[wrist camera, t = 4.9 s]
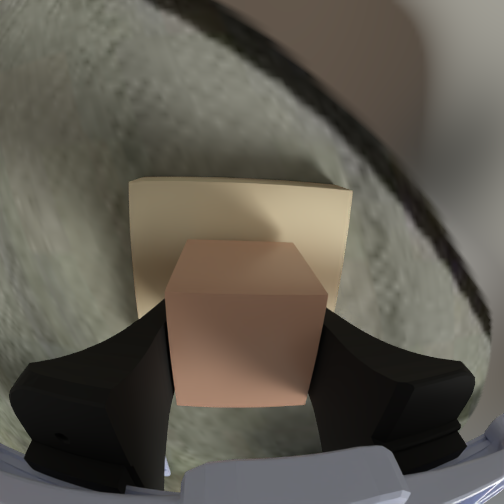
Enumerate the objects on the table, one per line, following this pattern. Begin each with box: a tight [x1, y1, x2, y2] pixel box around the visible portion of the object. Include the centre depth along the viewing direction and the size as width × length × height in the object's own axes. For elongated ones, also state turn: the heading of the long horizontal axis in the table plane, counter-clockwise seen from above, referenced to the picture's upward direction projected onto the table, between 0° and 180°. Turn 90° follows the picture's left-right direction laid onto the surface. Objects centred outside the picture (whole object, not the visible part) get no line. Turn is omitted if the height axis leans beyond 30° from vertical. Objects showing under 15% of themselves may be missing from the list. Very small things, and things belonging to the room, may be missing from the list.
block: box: [165, 239, 328, 407], centre depth 11 cm, size 4×4×5 cm
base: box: [129, 177, 353, 319], centre depth 15 cm, size 10×10×2 cm
